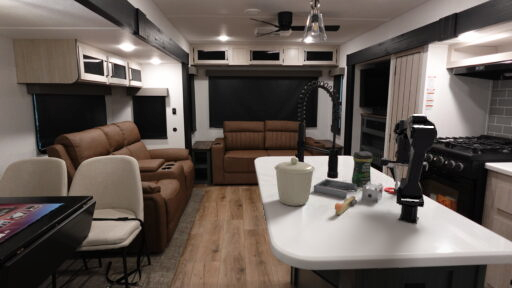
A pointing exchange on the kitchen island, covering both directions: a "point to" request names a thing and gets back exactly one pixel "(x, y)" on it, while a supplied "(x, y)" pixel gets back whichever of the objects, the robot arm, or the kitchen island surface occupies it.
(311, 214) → the kitchen island surface
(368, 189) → the block
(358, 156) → the coffee jar
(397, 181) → the tow hook
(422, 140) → the robot arm
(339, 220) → the kitchen island surface
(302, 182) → the canister
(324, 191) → the dock
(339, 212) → the lock bar
